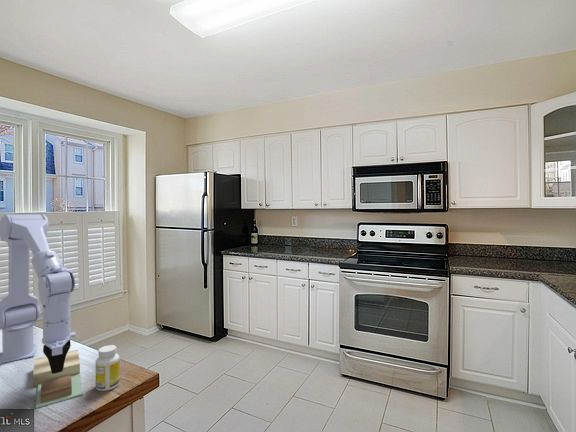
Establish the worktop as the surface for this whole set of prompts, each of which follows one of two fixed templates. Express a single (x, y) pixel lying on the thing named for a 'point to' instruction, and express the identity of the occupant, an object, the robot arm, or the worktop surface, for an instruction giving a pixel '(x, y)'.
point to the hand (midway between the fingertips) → (57, 371)
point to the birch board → (44, 373)
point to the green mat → (75, 393)
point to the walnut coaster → (56, 389)
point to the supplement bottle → (107, 368)
